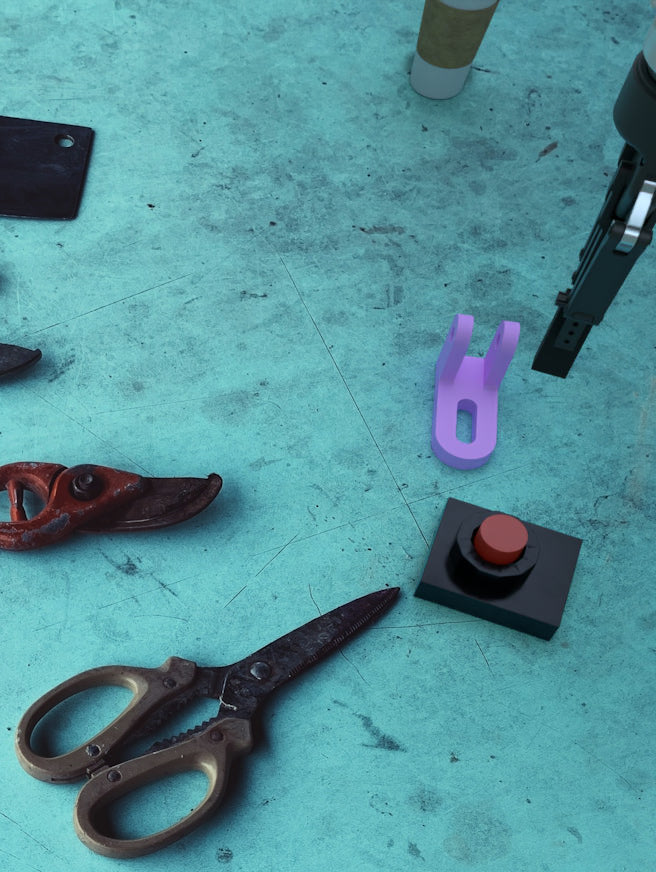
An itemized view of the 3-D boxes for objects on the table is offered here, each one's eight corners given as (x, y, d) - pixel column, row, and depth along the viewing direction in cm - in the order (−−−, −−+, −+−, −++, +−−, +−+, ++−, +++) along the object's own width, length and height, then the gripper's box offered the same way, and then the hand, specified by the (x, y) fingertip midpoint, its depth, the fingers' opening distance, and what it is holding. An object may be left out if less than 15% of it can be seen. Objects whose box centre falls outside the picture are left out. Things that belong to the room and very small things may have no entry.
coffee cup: (473, 65, 137) (522, -80, 123) (472, 111, 133) (522, -33, 120) (400, 55, 137) (440, -90, 124) (396, 101, 133) (437, -43, 120)
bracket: (436, 363, 116) (459, 304, 110) (493, 371, 116) (520, 313, 109) (429, 464, 110) (453, 408, 104) (490, 473, 110) (518, 418, 104)
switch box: (573, 555, 106) (592, 525, 102) (549, 642, 102) (568, 614, 98) (441, 512, 108) (455, 482, 104) (412, 596, 104) (426, 567, 100)
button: (525, 536, 102) (532, 523, 101) (514, 571, 101) (522, 558, 99) (479, 521, 103) (486, 508, 101) (468, 556, 101) (475, 542, 100)
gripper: (654, -7, 75) (519, 299, 96) (620, 116, 70) (484, 412, 91) (776, 21, 74) (612, 325, 95) (750, 148, 69) (582, 440, 90)
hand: (549, 367), depth 93 cm, fingers closed
